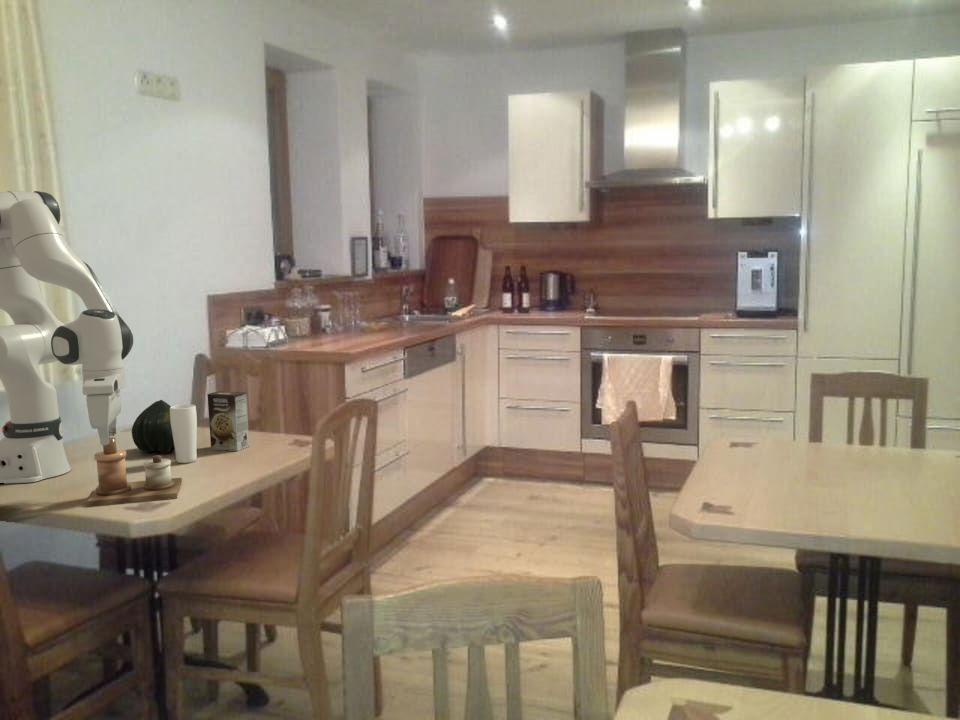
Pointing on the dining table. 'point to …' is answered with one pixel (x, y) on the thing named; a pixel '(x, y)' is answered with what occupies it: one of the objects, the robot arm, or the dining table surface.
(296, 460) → the dining table surface
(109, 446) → the jar lid
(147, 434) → the squash
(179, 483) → the holder
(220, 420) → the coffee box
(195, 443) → the drinking glass
